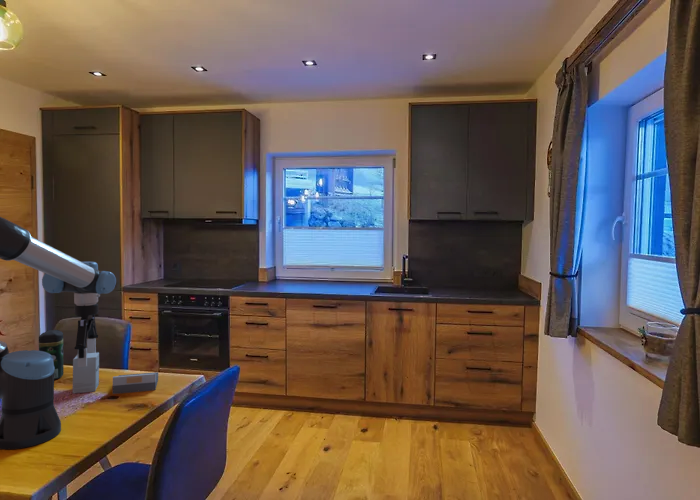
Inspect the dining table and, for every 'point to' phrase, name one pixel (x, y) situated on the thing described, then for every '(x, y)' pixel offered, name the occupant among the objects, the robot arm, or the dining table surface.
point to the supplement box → (86, 374)
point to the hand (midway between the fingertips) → (87, 360)
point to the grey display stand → (135, 382)
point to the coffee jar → (53, 349)
